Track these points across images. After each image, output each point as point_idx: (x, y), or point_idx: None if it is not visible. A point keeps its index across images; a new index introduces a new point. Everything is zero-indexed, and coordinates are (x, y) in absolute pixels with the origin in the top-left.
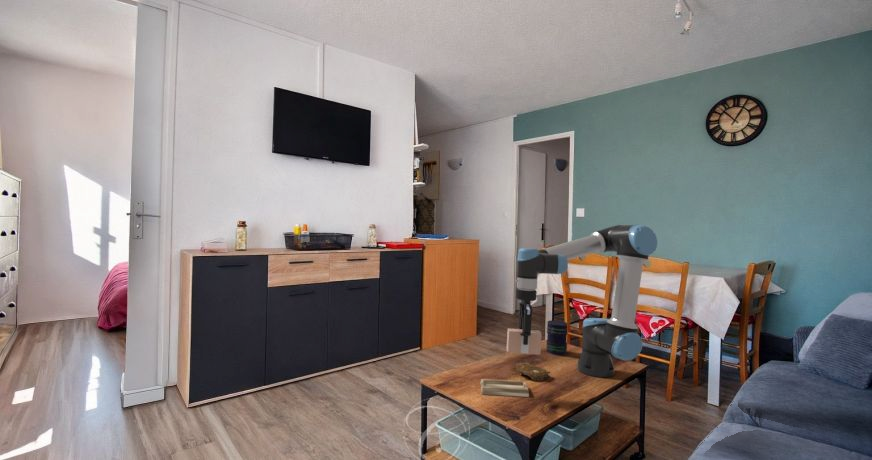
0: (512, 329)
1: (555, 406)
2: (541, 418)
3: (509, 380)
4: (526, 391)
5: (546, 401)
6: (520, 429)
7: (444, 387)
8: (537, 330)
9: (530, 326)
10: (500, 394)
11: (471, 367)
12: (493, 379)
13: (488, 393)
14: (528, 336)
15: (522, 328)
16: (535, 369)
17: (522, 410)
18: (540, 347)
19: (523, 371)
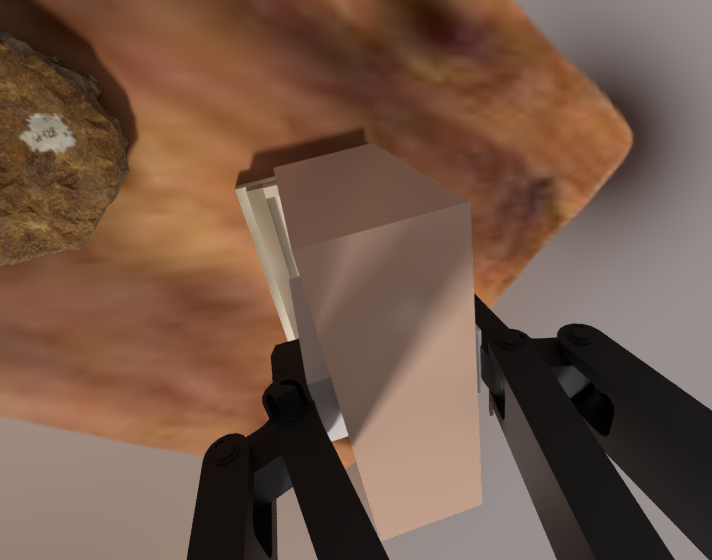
0: (407, 505)
1: (432, 17)
2: (545, 95)
3: (272, 262)
4: None
5: (387, 65)
6: (612, 168)
7: None
8: (305, 278)
9: (703, 411)
10: None
11: (127, 425)
12: (290, 323)
13: None
14: (476, 331)
15: (517, 454)
16: (7, 137)
17: (489, 173)
18: (394, 159)
19: (95, 212)
